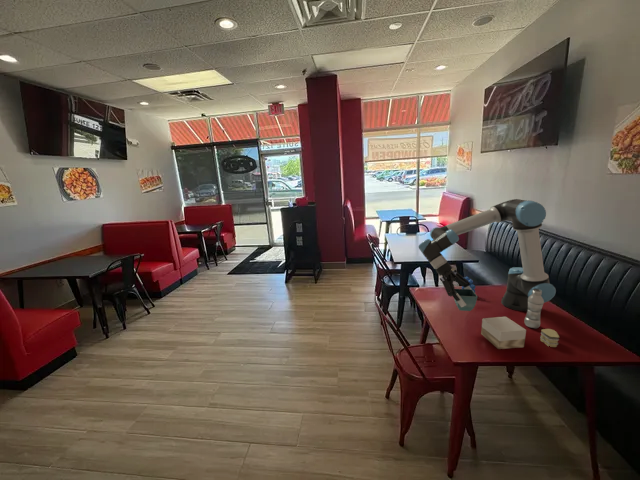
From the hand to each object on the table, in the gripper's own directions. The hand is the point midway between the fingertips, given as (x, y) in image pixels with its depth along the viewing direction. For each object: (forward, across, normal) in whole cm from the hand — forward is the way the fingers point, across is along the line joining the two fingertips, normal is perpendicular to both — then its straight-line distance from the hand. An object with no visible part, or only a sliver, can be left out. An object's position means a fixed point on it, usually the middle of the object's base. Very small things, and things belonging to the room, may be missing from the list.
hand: (469, 302), depth 132 cm
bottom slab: (+22, -3, -2) cm, 22 cm away
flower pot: (+2, 0, -5) cm, 6 cm away
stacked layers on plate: (+32, -16, +9) cm, 37 cm away
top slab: (+18, -3, +2) cm, 19 cm away
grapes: (-2, -42, -24) cm, 48 cm away
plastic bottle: (+26, -27, +3) cm, 37 cm away
